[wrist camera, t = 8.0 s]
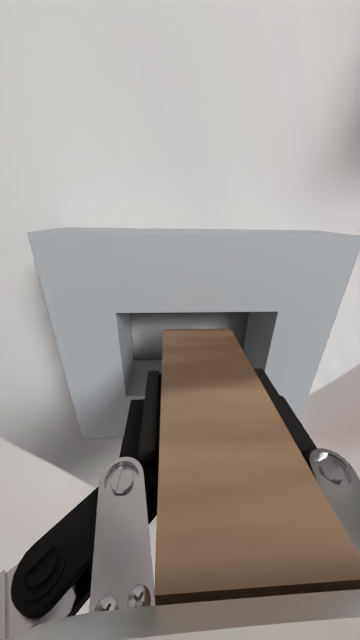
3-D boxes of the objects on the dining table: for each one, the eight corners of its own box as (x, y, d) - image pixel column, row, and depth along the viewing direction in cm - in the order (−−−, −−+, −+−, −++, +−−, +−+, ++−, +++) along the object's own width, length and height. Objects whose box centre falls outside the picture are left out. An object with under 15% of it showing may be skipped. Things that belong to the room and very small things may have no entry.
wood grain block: (163, 329, 13) (154, 594, 4) (230, 328, 13) (372, 578, 4) (164, 383, 15) (160, 654, 6) (224, 381, 15) (313, 639, 6)
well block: (64, 227, 14) (27, 232, 10) (315, 230, 14) (364, 236, 11) (97, 397, 20) (82, 439, 16) (272, 392, 20) (295, 430, 17)
